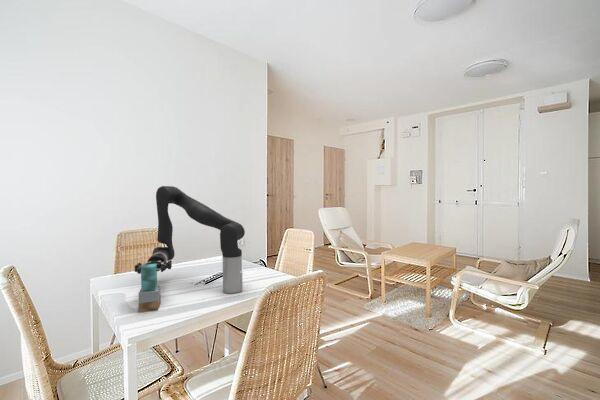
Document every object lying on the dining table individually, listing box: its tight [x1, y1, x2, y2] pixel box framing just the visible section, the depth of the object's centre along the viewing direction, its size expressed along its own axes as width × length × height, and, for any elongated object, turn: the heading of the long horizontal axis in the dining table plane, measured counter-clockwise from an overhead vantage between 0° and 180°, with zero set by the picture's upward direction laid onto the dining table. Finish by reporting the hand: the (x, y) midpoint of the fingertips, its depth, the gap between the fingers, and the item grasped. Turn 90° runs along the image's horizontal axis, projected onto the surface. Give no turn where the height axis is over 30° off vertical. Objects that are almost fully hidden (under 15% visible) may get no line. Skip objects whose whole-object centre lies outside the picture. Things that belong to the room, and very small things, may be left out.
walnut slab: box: [137, 294, 162, 314], centre depth 115 cm, size 7×7×4 cm
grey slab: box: [138, 285, 161, 303], centre depth 115 cm, size 7×7×4 cm
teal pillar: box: [140, 264, 158, 292], centre depth 115 cm, size 5×5×10 cm
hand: (150, 270), depth 116 cm, fingers open, 8 cm apart
